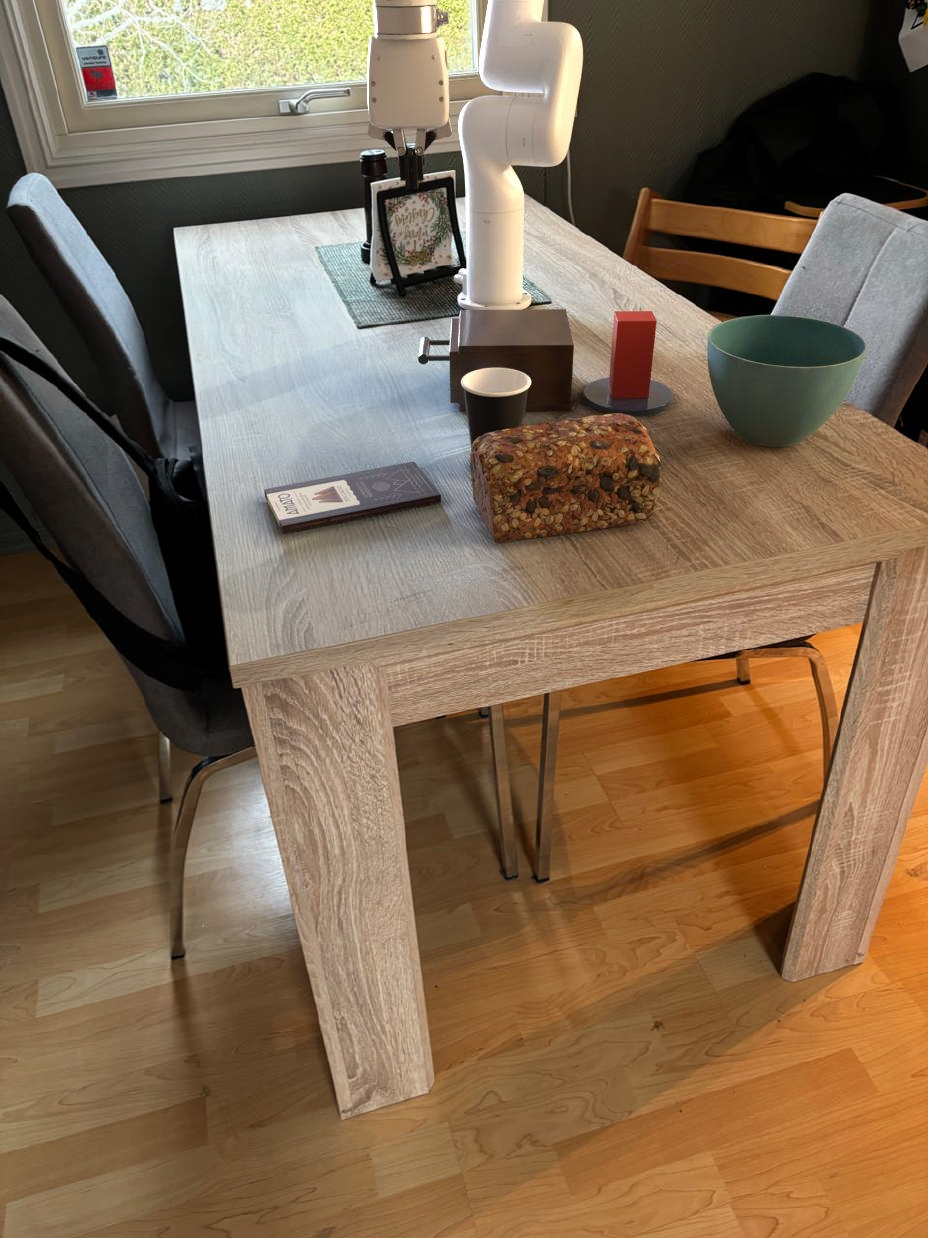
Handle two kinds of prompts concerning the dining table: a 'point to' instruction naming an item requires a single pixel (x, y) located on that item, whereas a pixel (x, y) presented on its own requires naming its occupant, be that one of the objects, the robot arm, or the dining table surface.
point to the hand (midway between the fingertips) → (412, 186)
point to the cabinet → (521, 351)
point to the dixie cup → (495, 400)
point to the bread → (565, 476)
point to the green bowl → (781, 374)
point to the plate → (627, 399)
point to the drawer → (445, 357)
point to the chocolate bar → (350, 496)
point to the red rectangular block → (632, 354)
